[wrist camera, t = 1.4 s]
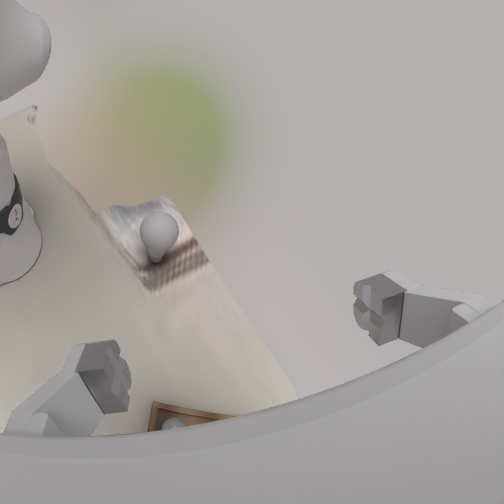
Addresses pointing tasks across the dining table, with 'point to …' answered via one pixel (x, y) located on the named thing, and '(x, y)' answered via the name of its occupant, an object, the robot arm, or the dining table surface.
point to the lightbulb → (158, 234)
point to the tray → (180, 415)
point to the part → (173, 423)
